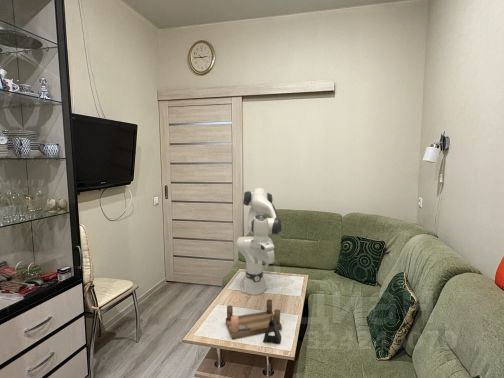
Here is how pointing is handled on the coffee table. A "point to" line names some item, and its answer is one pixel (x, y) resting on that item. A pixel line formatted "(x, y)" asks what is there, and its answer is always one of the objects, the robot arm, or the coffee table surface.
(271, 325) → the phone stand
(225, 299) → the coffee table surface
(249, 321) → the stool base
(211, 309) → the coffee table surface
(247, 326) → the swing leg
